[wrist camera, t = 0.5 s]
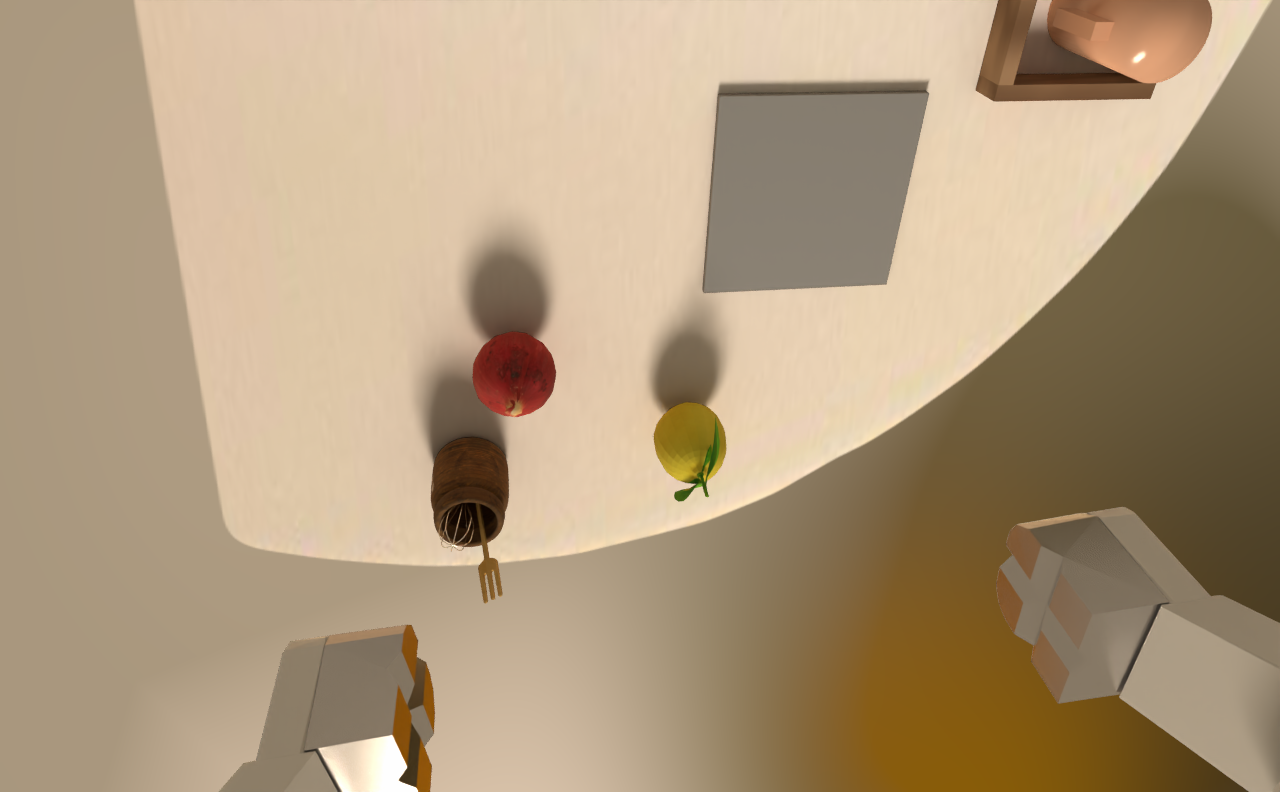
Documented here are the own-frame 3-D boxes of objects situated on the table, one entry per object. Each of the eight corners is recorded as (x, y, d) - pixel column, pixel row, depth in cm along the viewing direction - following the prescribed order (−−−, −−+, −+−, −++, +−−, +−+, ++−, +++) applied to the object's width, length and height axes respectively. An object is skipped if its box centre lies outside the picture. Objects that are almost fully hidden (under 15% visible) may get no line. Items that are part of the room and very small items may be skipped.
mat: (717, 94, 53) (719, 96, 52) (925, 91, 54) (929, 93, 54) (702, 289, 61) (703, 293, 60) (883, 281, 63) (886, 284, 62)
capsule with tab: (1045, -36, 51) (1125, -12, 44) (1135, -36, 52) (1227, -12, 45) (1021, 50, 54) (1093, 84, 47) (1107, 49, 55) (1189, 82, 48)
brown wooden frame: (1020, -84, 49) (1042, -79, 47) (1187, -81, 51) (1215, -76, 49) (975, 90, 55) (994, 101, 53) (1126, 88, 56) (1150, 98, 54)
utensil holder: (481, 422, 65) (479, 531, 55) (523, 472, 68) (529, 583, 59) (418, 454, 66) (405, 567, 56) (463, 503, 69) (458, 616, 60)
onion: (477, 308, 59) (475, 369, 53) (557, 316, 60) (565, 378, 54) (470, 375, 62) (467, 441, 56) (546, 382, 63) (552, 447, 57)
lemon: (696, 365, 65) (725, 445, 57) (733, 411, 68) (766, 493, 60) (626, 410, 66) (645, 494, 58) (666, 453, 69) (688, 538, 61)
